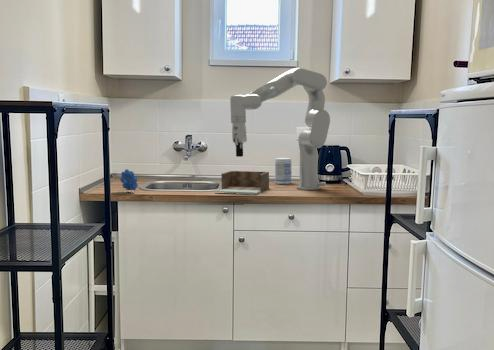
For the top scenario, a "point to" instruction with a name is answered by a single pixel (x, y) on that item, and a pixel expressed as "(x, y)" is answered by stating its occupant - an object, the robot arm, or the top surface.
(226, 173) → the crate
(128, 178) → the grapes
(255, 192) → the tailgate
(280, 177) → the supplement tub
